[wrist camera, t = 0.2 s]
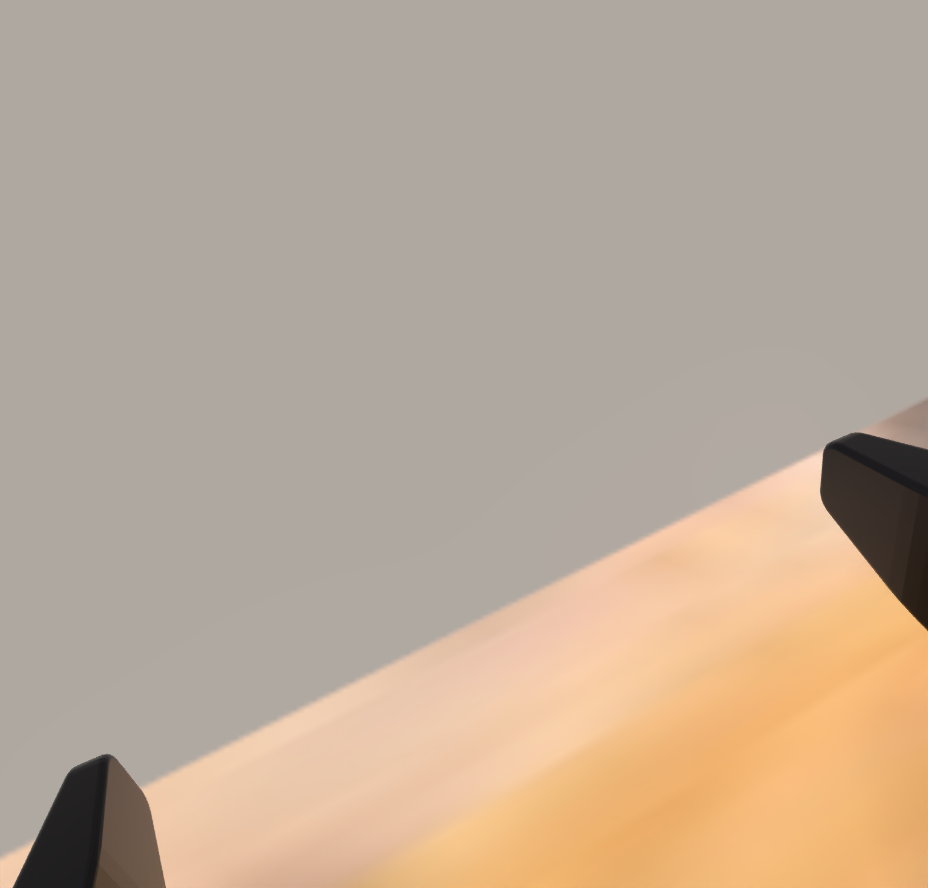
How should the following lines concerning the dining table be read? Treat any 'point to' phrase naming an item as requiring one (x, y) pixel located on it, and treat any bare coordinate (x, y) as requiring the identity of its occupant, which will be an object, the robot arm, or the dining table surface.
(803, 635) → the dining table surface
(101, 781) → the robot arm
